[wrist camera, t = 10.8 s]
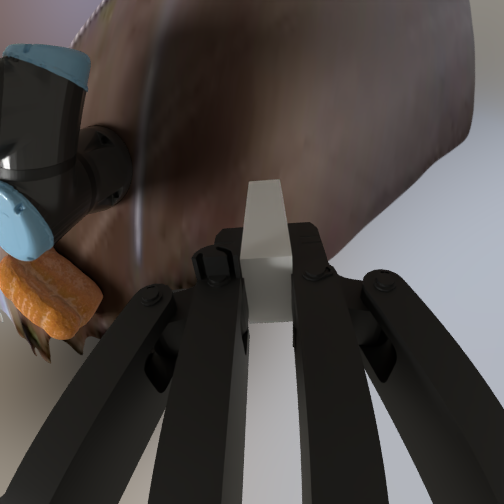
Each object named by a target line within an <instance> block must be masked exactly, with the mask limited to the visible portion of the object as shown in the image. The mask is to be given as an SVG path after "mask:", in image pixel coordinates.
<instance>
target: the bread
mask: <svg viewBox="0 0 504 504" xmlns="http://www.w3.org/2000/svg"><path fill="white" fill-rule="evenodd" d="M0 288H1V290H2V292H3V293H4V295H5V296H6V297H7V298H8V299H10V300H12V302H13V303H14V305H15V306H16V307H17V309H18V310H19V311H20V312H21V313H22V314H23V315H25V316H26V317H27V318H28V319H29V320H30V321H31V322H32V323H34V324H36V325H37V326H39V327H41V328H43V329H44V330H45V331H46V332H47V333H48V334H49V335H50V336H51V337H53V338H55V339H60V340H64V339H70V338H72V337H73V336H74V335H75V333H76V332H77V331H78V329H79V328H80V327H82V326H84V325H85V324H86V323H87V322H88V321H89V320H90V319H91V317H92V316H93V315H94V313H95V312H96V310H97V308H98V306H99V304H100V303H101V301H102V299H103V294H102V292H101V290H100V288H99V287H98V286H97V285H96V283H95V282H94V281H93V280H92V279H90V278H89V277H88V276H86V275H85V274H84V273H83V272H82V271H81V270H79V269H78V268H77V267H76V266H74V265H73V264H72V263H71V262H70V261H69V260H67V259H66V258H65V257H63V256H62V255H60V254H58V253H57V252H56V250H55V249H54V247H52V248H51V249H49V250H47V251H45V252H44V253H43V254H42V255H41V256H40V257H38V258H37V259H35V260H33V261H21V260H19V259H16V258H14V257H13V256H11V255H10V254H8V256H5V257H4V258H3V259H2V261H1V263H0Z"/></svg>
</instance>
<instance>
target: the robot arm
mask: <svg viewBox="0 0 504 504" xmlns="http://www.w3.org/2000/svg"><path fill="white" fill-rule="evenodd" d="M2 56H3V58H0V246H1V247H2V248H3V249H4V250H5V251H6V252H7V253H8V254H10V255H11V256H13V257H14V258H16V259H19V260H21V261H33V260H35V259H37V258H38V257H40V256H41V255H42V254H43V253H44V252H45V251H47V250H49V249H51V248H52V247H53V245H54V244H55V243H56V242H58V241H59V240H60V239H61V238H62V237H63V236H64V235H65V234H66V233H67V232H68V231H69V230H70V229H71V228H72V227H74V226H75V225H76V224H77V223H78V222H79V221H80V220H81V219H82V218H83V217H85V216H86V215H87V214H91V213H96V212H100V211H104V210H107V209H109V208H111V207H112V206H114V205H115V204H116V203H117V202H119V201H120V200H121V199H122V198H123V197H124V196H125V194H126V193H127V191H128V189H129V186H130V183H131V179H132V162H131V157H130V154H129V151H128V149H127V147H126V145H125V144H124V142H123V141H122V139H121V138H120V137H119V136H118V135H117V134H116V133H115V132H113V131H112V130H110V129H108V128H105V127H102V126H90V127H86V128H83V129H80V125H81V119H82V112H83V107H84V101H85V96H86V92H88V87H87V83H88V78H89V72H90V67H91V61H90V58H89V57H88V55H86V54H85V53H83V52H81V51H78V50H74V49H70V48H65V47H59V46H51V45H43V44H34V45H32V44H12V45H9V46H8V47H7V48H6V49H5V51H4V52H3V55H2ZM191 259H192V262H193V266H194V270H195V274H196V278H197V283H196V286H194V287H192V288H189V289H186V290H183V291H179V292H175V293H173V292H172V290H171V289H170V288H169V286H167V285H164V284H152V285H148V286H146V287H144V288H142V289H140V290H139V291H138V292H137V293H136V294H135V295H134V296H133V298H132V299H131V300H130V301H129V303H128V304H127V305H126V306H125V308H124V309H123V310H122V312H121V313H120V314H119V316H118V317H117V318H116V319H115V321H114V322H113V323H112V325H111V326H110V327H109V329H108V330H107V331H106V333H105V334H104V336H103V337H102V338H101V340H100V341H99V342H98V344H97V345H96V347H95V348H94V349H93V351H92V352H91V353H90V355H89V356H88V358H87V359H86V360H85V362H84V363H83V365H82V366H81V368H80V369H79V370H78V372H77V373H76V375H75V376H74V378H73V379H72V381H71V382H70V384H69V385H68V387H67V388H66V390H65V391H64V393H63V394H62V396H61V397H60V399H59V400H58V402H57V403H56V405H55V406H54V408H53V410H52V411H51V413H50V414H49V416H48V417H47V419H46V421H45V422H44V424H43V426H42V427H41V429H40V431H39V432H38V434H37V436H36V437H35V439H34V441H33V442H32V444H31V446H30V447H29V450H28V451H27V453H26V455H25V456H24V458H23V460H22V462H21V464H20V465H19V467H18V469H17V471H16V473H15V475H14V477H13V479H12V480H11V482H10V484H9V486H8V488H7V490H6V493H5V494H4V495H3V496H2V497H0V504H118V503H119V501H120V499H121V497H122V495H123V493H124V491H125V489H126V487H127V485H128V483H129V481H130V478H131V476H132V474H133V472H134V470H135V468H136V466H137V464H138V462H139V460H140V458H141V456H142V454H143V452H144V450H145V448H146V446H147V444H148V442H149V440H150V438H151V436H152V434H153V432H154V430H155V428H156V426H157V424H158V422H159V420H160V418H161V416H162V414H163V412H164V410H165V414H164V419H163V423H162V429H161V433H160V438H159V443H158V448H157V454H156V459H155V464H154V469H153V475H152V481H151V487H150V493H149V499H148V504H242V489H243V468H244V467H243V466H244V447H245V424H246V404H247V382H248V381H247V380H248V359H249V338H250V335H249V330H248V317H249V323H272V322H288V321H293V347H294V352H295V365H296V379H297V394H298V410H299V425H300V448H301V472H302V504H389V501H388V492H387V486H386V477H385V470H384V464H383V458H382V452H381V446H380V440H379V435H378V429H377V424H376V419H375V414H374V410H373V405H372V400H371V395H370V391H369V387H368V382H367V378H366V374H365V370H366V372H367V374H368V376H369V378H370V379H371V381H372V383H373V385H374V387H375V388H376V390H377V392H378V394H379V396H380V398H381V400H382V402H383V403H384V405H385V407H386V409H387V411H388V413H389V415H390V417H391V419H392V420H393V423H394V424H395V426H396V428H397V430H398V432H399V434H400V436H401V438H402V440H403V442H404V444H405V446H406V448H407V450H408V452H409V454H410V456H411V458H412V460H413V462H414V464H415V466H416V468H417V470H418V472H419V474H420V476H421V479H422V481H423V483H424V485H425V487H426V489H427V491H428V494H429V496H430V498H431V500H432V502H433V504H504V409H503V407H502V406H501V404H500V402H499V401H498V399H497V398H496V397H495V395H494V394H493V392H492V390H491V389H490V387H489V386H488V384H487V383H486V381H485V380H484V379H483V377H482V376H481V375H480V373H479V372H478V370H477V369H476V368H475V366H474V365H473V363H472V362H471V361H470V359H469V358H468V357H467V355H466V354H465V353H464V351H463V350H462V349H461V347H460V346H459V345H458V343H457V342H456V341H455V340H454V338H453V337H452V336H451V335H450V333H449V332H448V331H447V330H446V328H445V327H444V326H443V325H442V323H441V322H440V321H439V320H438V319H437V317H436V316H435V315H434V314H433V313H432V311H431V310H430V309H429V308H428V307H427V306H426V304H425V303H424V302H423V301H422V300H421V299H420V298H419V296H418V295H417V294H416V293H415V292H414V291H413V290H412V288H411V287H410V286H409V285H408V284H407V283H406V282H405V281H404V280H403V279H402V278H401V277H400V276H399V275H398V274H396V273H394V272H391V271H389V270H382V269H379V270H373V271H371V272H368V273H367V274H366V275H365V276H364V278H363V281H361V280H354V279H348V278H344V277H342V276H339V275H338V274H337V272H336V270H335V269H334V267H333V266H331V265H329V263H328V260H327V257H326V254H325V250H324V247H323V244H322V241H321V238H320V235H319V232H318V229H317V228H316V227H315V226H314V225H313V224H312V223H310V222H304V223H287V219H286V213H285V207H284V201H283V195H282V189H281V183H280V179H278V180H263V181H250V182H249V186H248V194H247V203H246V211H245V219H244V227H241V228H227V229H222V230H221V231H220V232H219V233H218V234H217V235H216V238H215V242H214V245H210V246H207V247H204V248H202V249H200V250H198V251H197V252H196V253H195V254H194V255H193V257H192V258H191ZM364 369H365V370H364ZM165 408H166V409H165Z"/></svg>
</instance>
